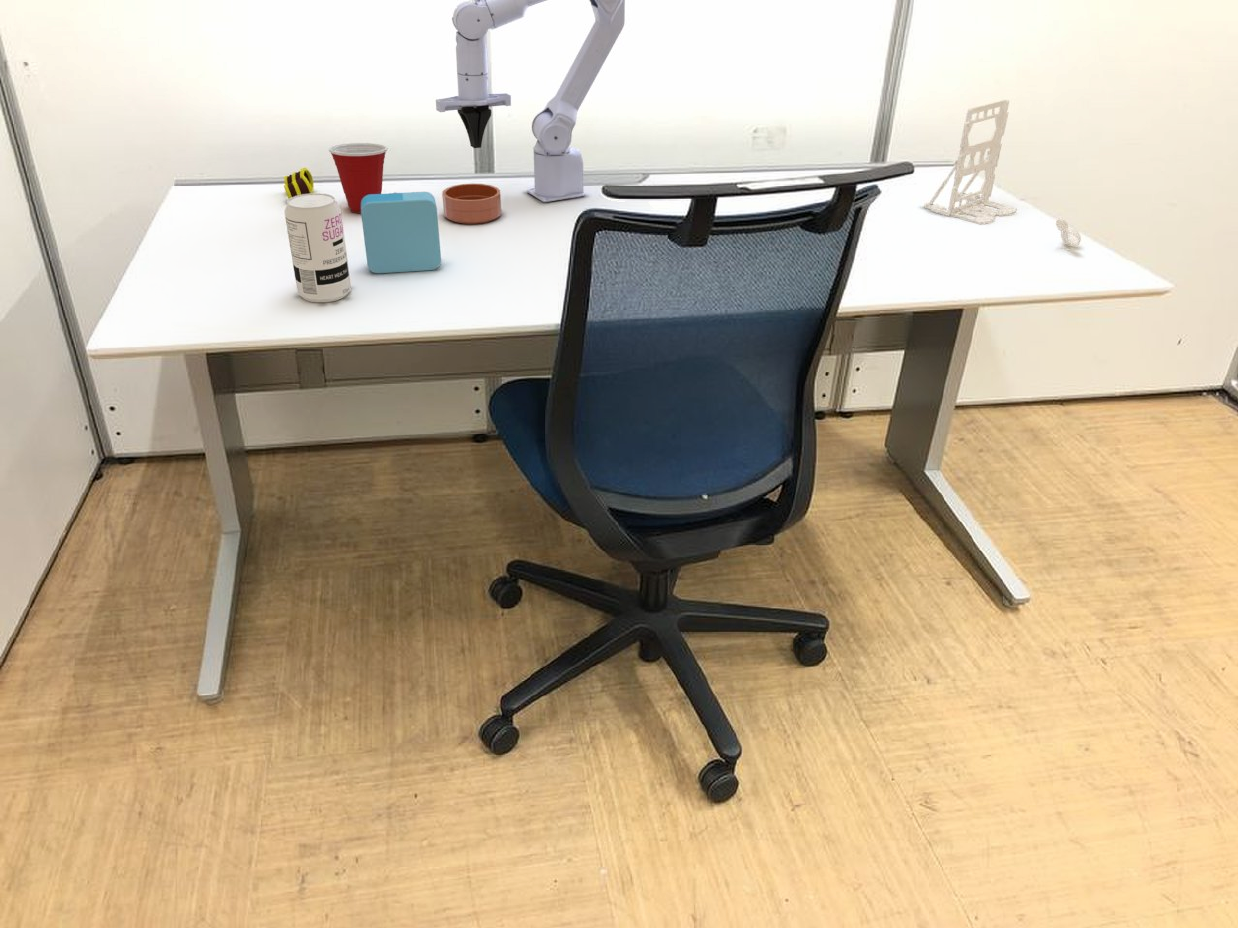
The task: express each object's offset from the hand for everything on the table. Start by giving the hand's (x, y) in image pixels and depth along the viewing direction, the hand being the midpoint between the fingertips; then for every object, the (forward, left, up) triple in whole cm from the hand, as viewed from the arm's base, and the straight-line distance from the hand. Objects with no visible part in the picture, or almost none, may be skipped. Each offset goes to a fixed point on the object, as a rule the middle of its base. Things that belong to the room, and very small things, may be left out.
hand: (475, 146), depth 195 cm
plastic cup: (+22, -5, -11) cm, 25 cm away
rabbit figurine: (-82, +75, -11) cm, 111 cm away
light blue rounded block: (+26, +28, -11) cm, 39 cm away
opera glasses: (+31, -18, -11) cm, 37 cm away
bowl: (+5, +9, -10) cm, 14 cm away
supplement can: (+41, +33, -11) cm, 54 cm away
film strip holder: (-83, +51, -11) cm, 98 cm away
